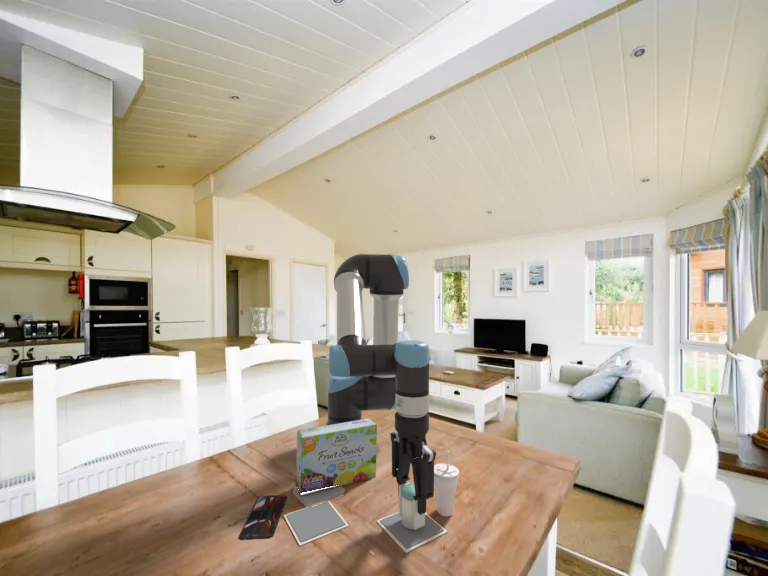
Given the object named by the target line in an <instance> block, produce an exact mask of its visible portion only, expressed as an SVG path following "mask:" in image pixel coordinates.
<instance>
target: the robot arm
mask: <svg viewBox="0 0 768 576" xmlns="http://www.w3.org/2000/svg"><path fill="white" fill-rule="evenodd" d="M409 273H410V272H409V268H408V264H407V261H406V259H405V257H404V256H403V255H398V254H378V253H377V254H373V253H372V254H369V253H368V254H365V253H360V254H358V253H357V254H355V255H352V256H350V257H349V258H347V259H345V260H344V261H343V262H342V263H341V264H340V265H339V266H338V268H337V269H336V272H335V274H334V277H333V287H334V290H335V292H336V345H331V346H330V347H329V350H328V351H329V353H328V372H329V375H330V377H329V378H328V379H329V380H328V384H327V385H328V387H327V393H328V394H327V397H328V398H327V421H326V424H325V426H327V425H333V424H339V423H345V422H351V421H357V420H363V419H362V417H363V416H362V412H364V411H391V410H395V413H394V429H395V430H394V432H390V434H389V435H390V442H391V475H392V478H395V479H396V480H395V481H396V483H397V495H398V512H399V515H400V516H402V488H403V486H405V485H408V484H411V482H409V481H410V480H411V477H410V476H409V474H410V470H411V469H412V476H413V484H414V487H415V495H416V496H413V529H415V530H416V529H418V528H420V527H422V526H425V513H426V514H427V500H429V499H430V498H431V499H432V498H433V497H434V495H435V486H434V465H435V460H436V457H437V452H436V450H435V449H432V450H431V449H430V448H429V447H428V443H427V439H426V437H427V436H426V435H427V434H428V432H429V431H430V415H429V412H430V362H431V361H430V360H431V356H430V350H429V349H430V348H429V344H428V343H427V342H425V341H420V340H400V341H399V338H398V337H399V309H400V308H399V307H400V306H399V305H400V304H399V303H400V298H401V297H402V296H403V295H404V291H405V290H407V289H408V288H409V286H410V275H409ZM364 289H365V290H366V289H367V290H368V289H369V295H370V296H371V298H373V334H372V335H373V336H372V344H367V339H366V328H365V327H366V325H365V316H364V315H365V314H364V306H363V305H364V304H363V302H364V301H363V295H362V293H363V290H364ZM410 468H411V469H410Z"/></svg>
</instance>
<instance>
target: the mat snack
mask: <svg viewBox="0 0 768 576" xmlns="http://www.w3.org/2000/svg"><path fill="white" fill-rule="evenodd" d="M325 501H326V500H325ZM323 502H324V501H323ZM283 518H284V520H285V521H286V524H287V525H288V526H289V530H291V532H292V534H293V537H294V538H295V540H296V542H297V544H298V545H299V547H302V546H304V545H306V544H308V543H311V542H313V541H316V540H318V539H321V538H323V537H326V536H329V535H331V534H333V533H336V532H338V531H341V530H343V529H346V528H347V527H349V524H348V523H347V521H346V520H345V518H344V517H343V516H342V515H341V514H340V512H339V511H338V510H337V509H336V507H334V505H333V504H332V503H331V501H330V500H329V502H328V501H326V502H324V503H322V504H319V505H317V506H314V507H309V506H306V507H304V508H301V509H300V508H299V510H296V511H292V512H289V513H287V514H284V515H283Z"/></svg>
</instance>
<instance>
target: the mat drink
mask: <svg viewBox="0 0 768 576" xmlns="http://www.w3.org/2000/svg"><path fill="white" fill-rule="evenodd" d="M376 523H377V524H378V525H379V526H380V527H381V529H383V530H384V531H385V532H386V533H387V534H388V535H389V536H390V537H391V539H392V540H393V541H394V542H395V543H396V544H397V545H398V546H399V547H400V548H401V549H402V550H403V551H404V553H406V554H408V553H409V552H411V551H413V550H416V549H418V548H419V547H421V546H424V545H425V544H427V543H429V542H431V541H433V540H436V539H437V538H439V537H441V536H443V535H445V534H447V533H448V530H447V529H445V528H444V527H443V526H442V525H441V524H440V523H438V522H437V521H436V520H435V519H433V517H432V516H430V515H429V514H428V513H427V512H426V513H425V526H422V527H420V528H418V529H416V530H415V529H408V528H406V527H404V526H403V525H402V516H400V515H399V511H397V512H394V513H392V514H390V515H388V516H385V517H383V518H381V519H378V520H376Z"/></svg>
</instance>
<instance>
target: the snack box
mask: <svg viewBox="0 0 768 576" xmlns="http://www.w3.org/2000/svg"><path fill="white" fill-rule="evenodd" d="M377 439H378V424H377V423H375V422H374V421H373V420H372V419H371V418H363V419H362V420H357V421H351V422H345V423H339V424H333V425H327V426H326V425H322V426H315V427H311V428H304V429H298V430H297V431H296V461H295V462H296V467H295V469H296V470H295V486H296V488H297V487H298V488H297V490H298V489H299V491H300V493H302V492H307V491H312V490H316V489H321V488H325V487H330V486H336V485H337V486H338V485H339V486H338V487H342V486H346V485H349V484H350V485H351V484H353V483H354V484H355V483H357V482H361V481H366V480H369V479H374V478H376V476H377V450H378V449H377V448H378V447H377V445H378V443H377V441H378V440H377ZM299 491H298V492H299ZM300 493H299V494H300Z"/></svg>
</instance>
